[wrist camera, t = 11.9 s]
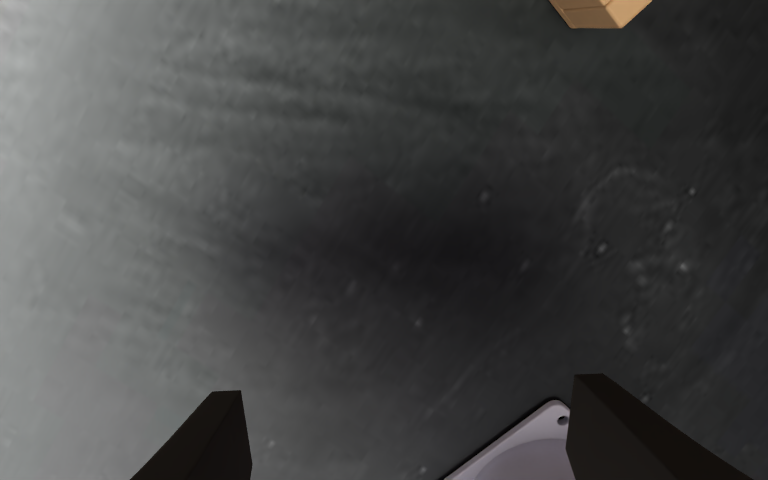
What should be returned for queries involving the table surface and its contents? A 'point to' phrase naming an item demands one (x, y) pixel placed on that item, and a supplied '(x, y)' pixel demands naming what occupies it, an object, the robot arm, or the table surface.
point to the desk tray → (598, 12)
